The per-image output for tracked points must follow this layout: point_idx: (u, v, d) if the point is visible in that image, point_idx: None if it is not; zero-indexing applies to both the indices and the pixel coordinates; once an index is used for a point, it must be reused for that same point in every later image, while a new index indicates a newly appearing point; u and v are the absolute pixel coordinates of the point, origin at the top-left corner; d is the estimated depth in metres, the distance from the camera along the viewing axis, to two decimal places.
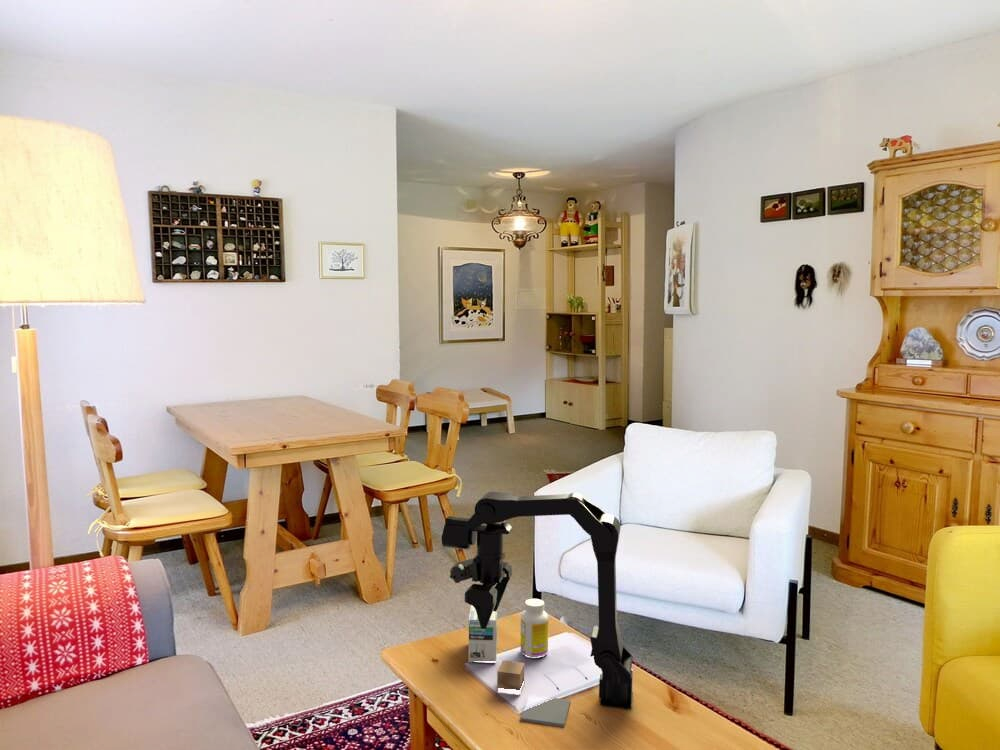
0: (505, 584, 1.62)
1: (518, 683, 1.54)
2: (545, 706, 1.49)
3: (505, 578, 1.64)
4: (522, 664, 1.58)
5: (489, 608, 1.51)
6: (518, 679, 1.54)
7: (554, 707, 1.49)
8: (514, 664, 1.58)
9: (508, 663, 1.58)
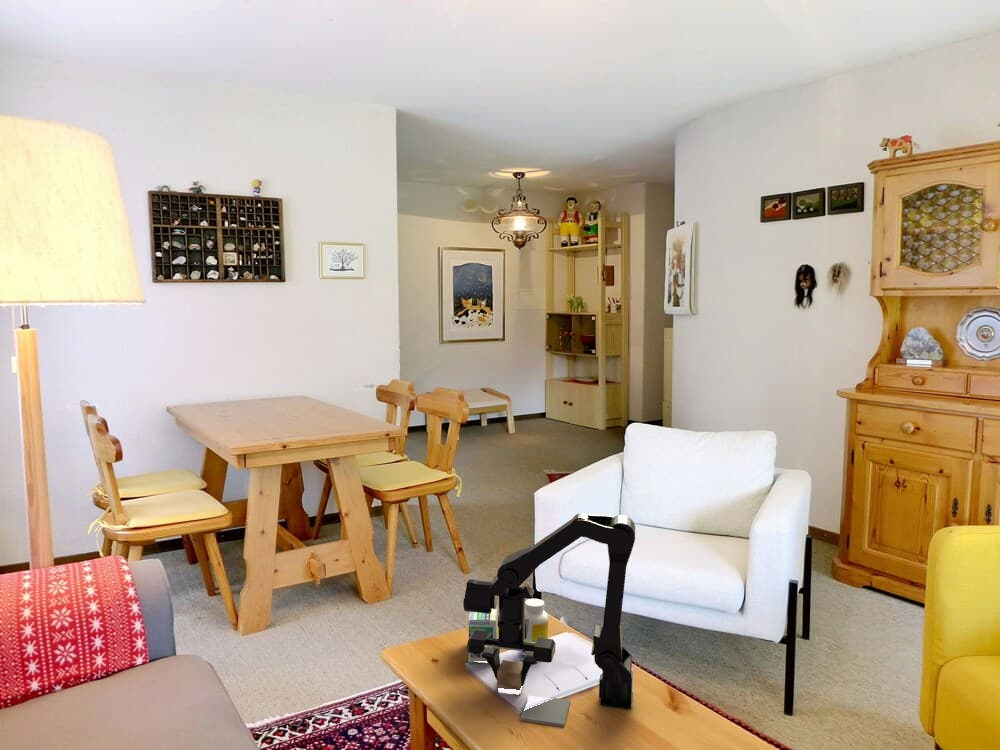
0: (523, 662, 1.53)
1: (518, 683, 1.54)
2: (545, 706, 1.49)
3: (532, 659, 1.53)
4: (522, 664, 1.58)
5: None
6: (518, 679, 1.54)
7: (554, 707, 1.49)
8: (514, 664, 1.58)
9: (508, 663, 1.58)
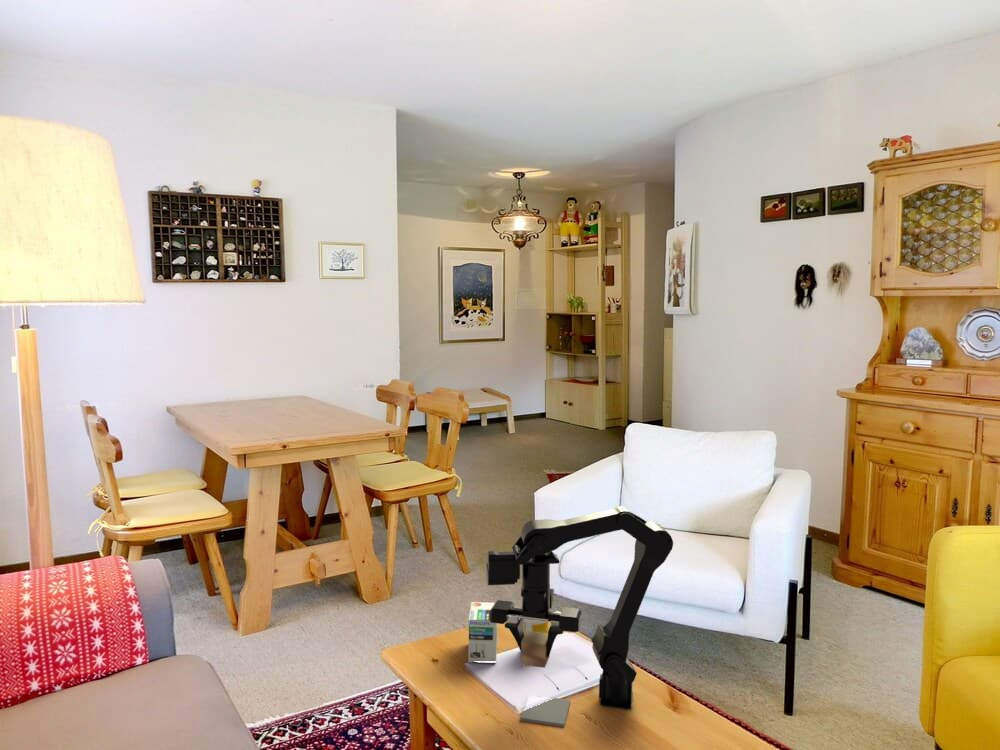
0: (548, 632, 1.47)
1: (543, 654, 1.47)
2: (545, 706, 1.49)
3: (558, 629, 1.46)
4: (547, 635, 1.51)
5: None
6: (543, 649, 1.47)
7: (554, 707, 1.49)
8: (539, 635, 1.51)
9: (532, 634, 1.52)
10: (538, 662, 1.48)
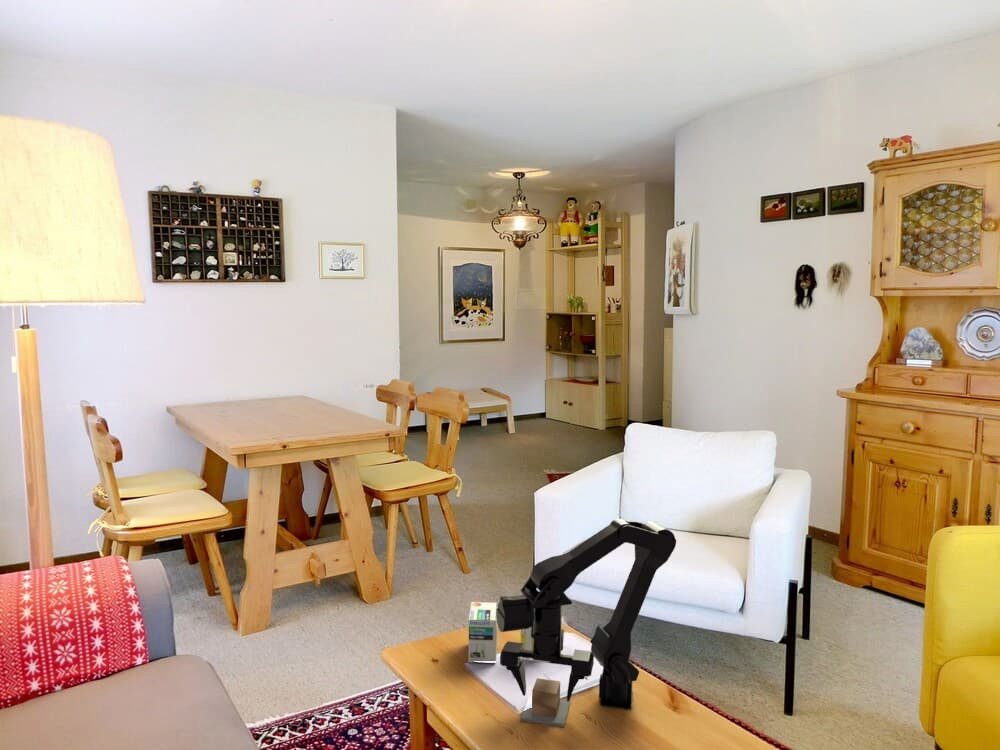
0: None
1: (555, 703, 1.45)
2: None
3: None
4: (558, 682, 1.49)
5: None
6: (555, 699, 1.45)
7: None
8: (549, 682, 1.49)
9: (543, 681, 1.49)
10: (549, 711, 1.46)
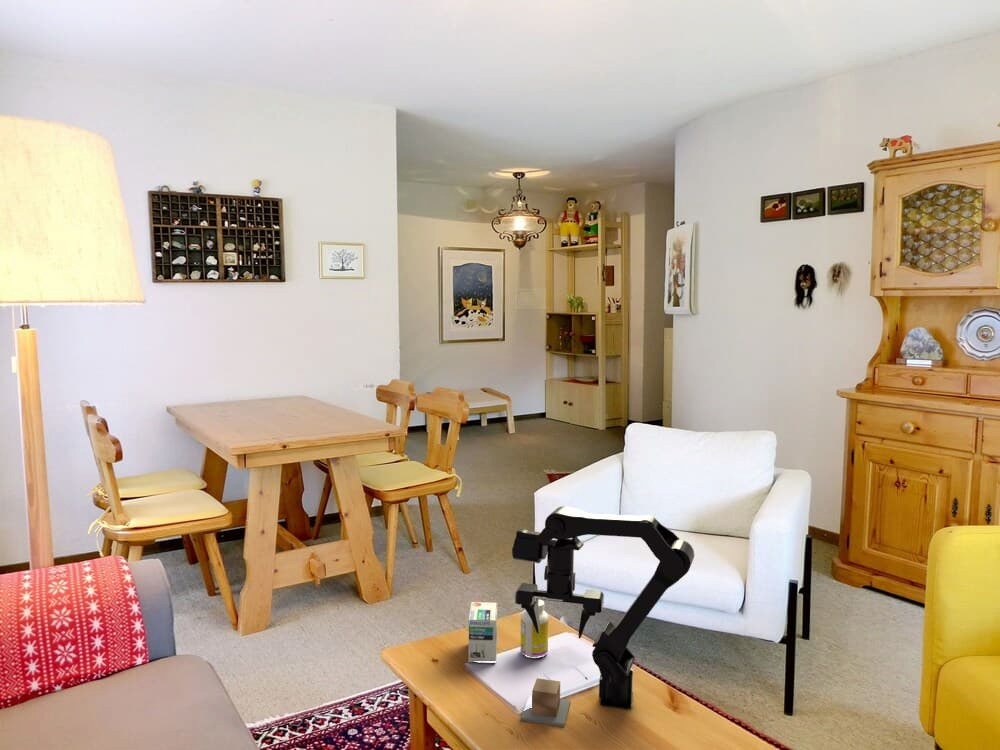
0: (581, 614, 1.53)
1: (555, 703, 1.45)
2: None
3: None
4: (558, 682, 1.49)
5: None
6: (555, 699, 1.45)
7: None
8: (549, 682, 1.49)
9: (543, 681, 1.49)
10: (549, 711, 1.46)
